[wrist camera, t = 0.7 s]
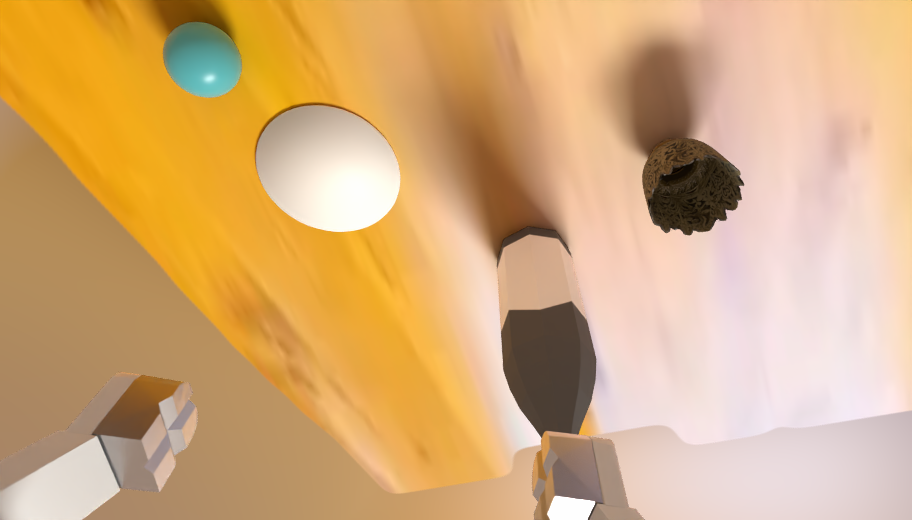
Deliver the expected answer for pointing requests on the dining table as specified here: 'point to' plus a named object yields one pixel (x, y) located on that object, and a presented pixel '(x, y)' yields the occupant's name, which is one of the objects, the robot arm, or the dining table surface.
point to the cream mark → (328, 168)
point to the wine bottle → (544, 331)
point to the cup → (689, 186)
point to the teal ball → (202, 59)
